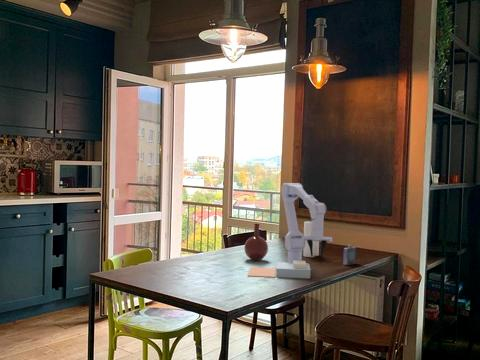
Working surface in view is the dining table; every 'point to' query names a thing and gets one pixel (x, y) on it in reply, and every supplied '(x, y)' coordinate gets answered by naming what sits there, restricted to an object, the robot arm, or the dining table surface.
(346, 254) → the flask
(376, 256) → the dining table surface
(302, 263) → the tile
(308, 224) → the white tall block
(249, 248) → the round-bottom flask
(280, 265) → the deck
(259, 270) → the mat
